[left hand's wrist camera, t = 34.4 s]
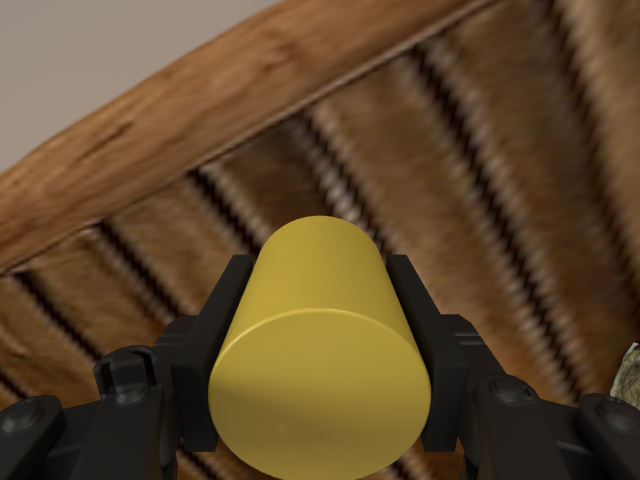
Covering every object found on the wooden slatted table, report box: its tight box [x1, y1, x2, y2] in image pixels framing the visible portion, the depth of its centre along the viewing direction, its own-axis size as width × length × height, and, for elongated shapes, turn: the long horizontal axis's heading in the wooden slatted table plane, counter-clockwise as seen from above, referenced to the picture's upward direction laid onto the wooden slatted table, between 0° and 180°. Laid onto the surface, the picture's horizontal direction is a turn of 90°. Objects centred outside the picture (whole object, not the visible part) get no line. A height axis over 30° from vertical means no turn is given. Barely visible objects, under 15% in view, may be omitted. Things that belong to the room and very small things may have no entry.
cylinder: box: [208, 216, 431, 480], centre depth 12 cm, size 5×5×7 cm
